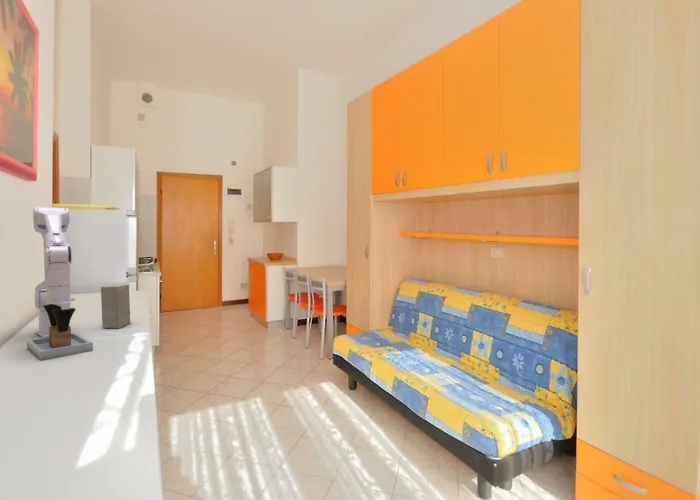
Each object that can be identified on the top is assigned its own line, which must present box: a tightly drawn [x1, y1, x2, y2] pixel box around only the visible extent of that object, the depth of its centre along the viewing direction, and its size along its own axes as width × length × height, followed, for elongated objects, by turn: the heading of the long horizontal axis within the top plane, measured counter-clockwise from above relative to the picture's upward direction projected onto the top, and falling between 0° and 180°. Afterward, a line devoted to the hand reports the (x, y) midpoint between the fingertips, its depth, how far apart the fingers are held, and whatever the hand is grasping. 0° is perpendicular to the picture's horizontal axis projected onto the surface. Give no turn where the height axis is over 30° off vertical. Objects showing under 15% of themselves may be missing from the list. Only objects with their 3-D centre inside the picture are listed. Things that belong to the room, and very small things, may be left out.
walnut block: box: [49, 325, 72, 349], centre depth 123 cm, size 4×4×6 cm
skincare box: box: [100, 283, 131, 329], centre depth 152 cm, size 8×7×16 cm
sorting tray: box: [26, 332, 94, 361], centre depth 123 cm, size 16×13×2 cm
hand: (59, 329), depth 123 cm, fingers open, 7 cm apart
